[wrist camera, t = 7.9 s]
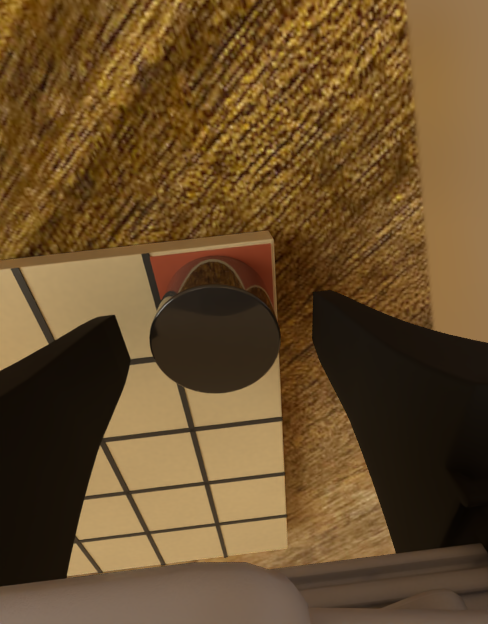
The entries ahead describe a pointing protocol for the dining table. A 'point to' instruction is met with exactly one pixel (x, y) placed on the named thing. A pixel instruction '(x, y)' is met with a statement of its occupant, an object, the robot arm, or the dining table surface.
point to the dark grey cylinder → (215, 326)
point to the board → (158, 412)
